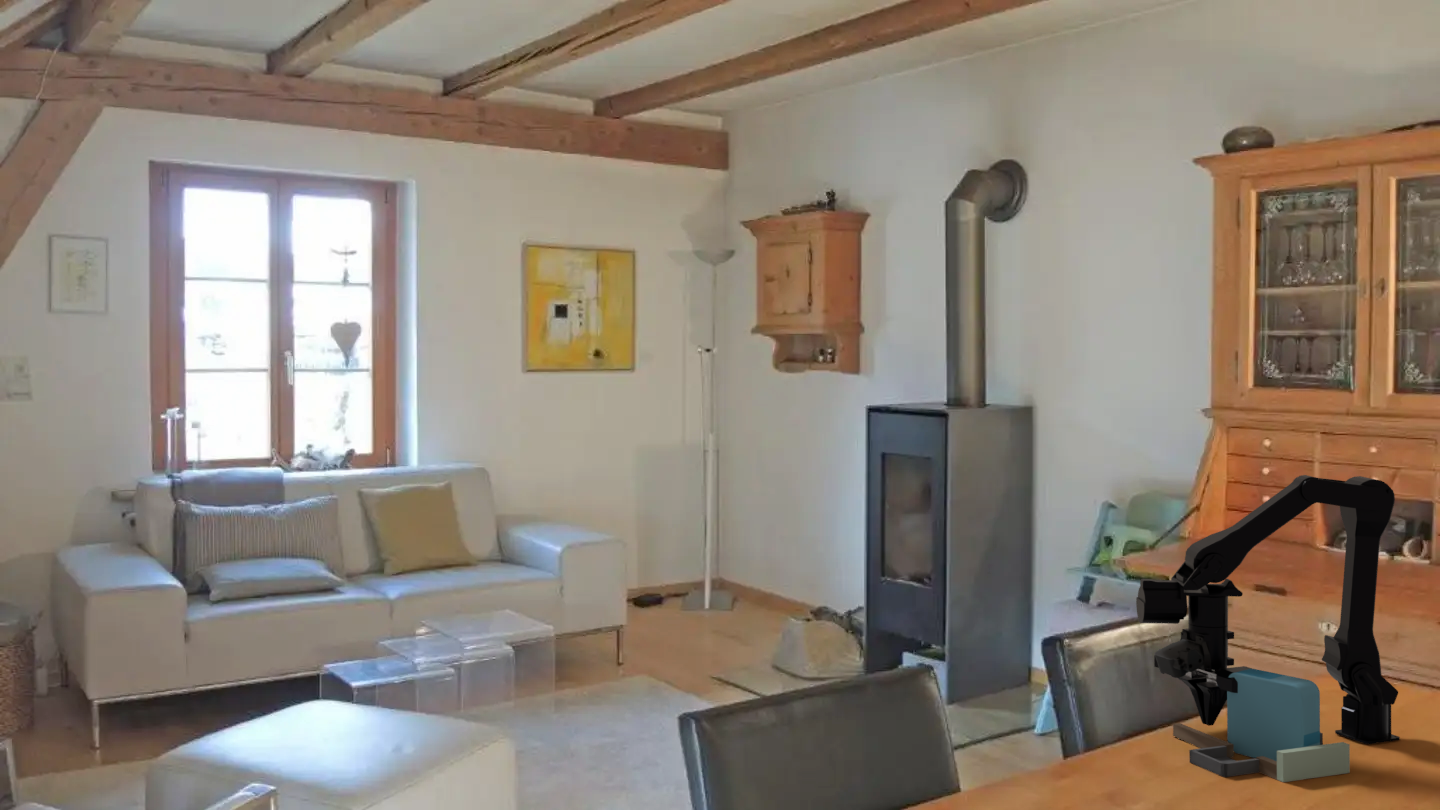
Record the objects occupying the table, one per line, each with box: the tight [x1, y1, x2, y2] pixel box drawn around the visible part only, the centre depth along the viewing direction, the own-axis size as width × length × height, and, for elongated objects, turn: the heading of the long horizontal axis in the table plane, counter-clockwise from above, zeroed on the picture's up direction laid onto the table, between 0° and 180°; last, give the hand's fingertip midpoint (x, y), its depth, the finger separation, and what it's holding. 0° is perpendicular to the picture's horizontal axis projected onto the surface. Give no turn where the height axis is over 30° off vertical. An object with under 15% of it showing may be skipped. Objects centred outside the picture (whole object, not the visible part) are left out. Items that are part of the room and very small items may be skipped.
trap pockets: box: [1188, 731, 1324, 778], centre depth 187 cm, size 24×14×2 cm, turn 108°
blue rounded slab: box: [1226, 668, 1321, 761], centre depth 184 cm, size 12×4×12 cm, turn 34°
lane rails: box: [1172, 722, 1277, 780], centre depth 187 cm, size 11×22×2 cm, turn 18°
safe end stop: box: [1276, 741, 1351, 783], centre depth 176 cm, size 11×1×4 cm, turn 108°
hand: (1207, 724), depth 196 cm, fingers closed
